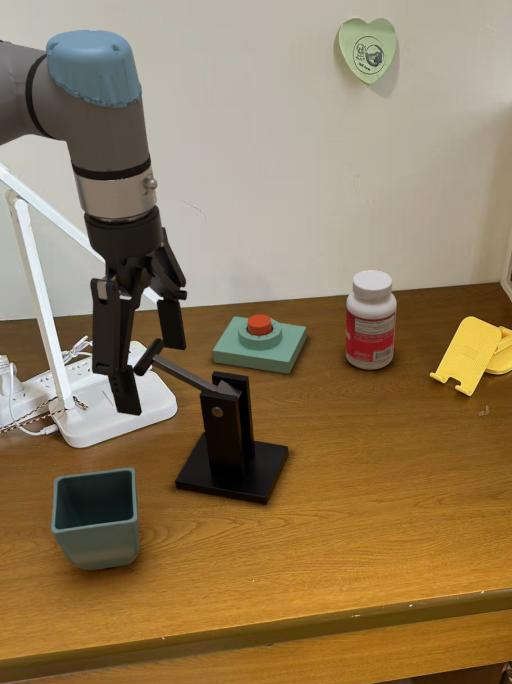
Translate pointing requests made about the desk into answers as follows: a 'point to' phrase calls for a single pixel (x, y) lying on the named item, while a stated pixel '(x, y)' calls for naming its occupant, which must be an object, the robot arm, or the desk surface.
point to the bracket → (231, 448)
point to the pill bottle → (370, 320)
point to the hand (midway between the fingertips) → (153, 378)
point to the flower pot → (97, 518)
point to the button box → (260, 346)
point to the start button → (259, 325)
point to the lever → (178, 371)
